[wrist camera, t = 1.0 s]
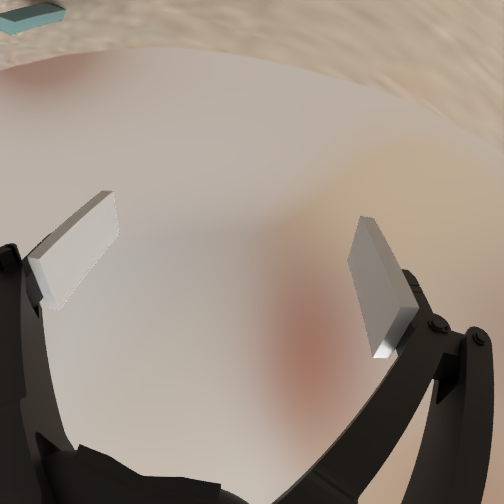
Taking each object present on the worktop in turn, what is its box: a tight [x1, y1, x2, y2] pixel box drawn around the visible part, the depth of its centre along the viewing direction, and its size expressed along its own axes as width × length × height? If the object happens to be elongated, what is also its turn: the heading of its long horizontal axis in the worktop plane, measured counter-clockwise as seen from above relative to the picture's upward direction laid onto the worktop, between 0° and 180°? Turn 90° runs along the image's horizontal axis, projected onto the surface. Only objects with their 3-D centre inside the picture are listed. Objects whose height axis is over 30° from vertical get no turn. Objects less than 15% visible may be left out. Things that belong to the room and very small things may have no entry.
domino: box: [0, 3, 66, 35], centre depth 18 cm, size 2×5×10 cm, turn 54°
